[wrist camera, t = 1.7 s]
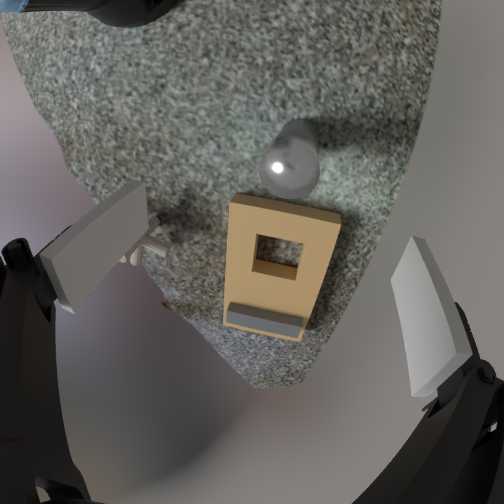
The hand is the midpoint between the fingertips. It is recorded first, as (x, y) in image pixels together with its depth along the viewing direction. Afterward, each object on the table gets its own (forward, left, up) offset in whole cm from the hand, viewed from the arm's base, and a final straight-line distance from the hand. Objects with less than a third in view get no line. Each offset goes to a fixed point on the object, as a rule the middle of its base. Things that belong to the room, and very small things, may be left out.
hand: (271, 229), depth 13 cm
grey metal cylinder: (0, 0, -22) cm, 22 cm away
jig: (+21, 0, -22) cm, 30 cm away
